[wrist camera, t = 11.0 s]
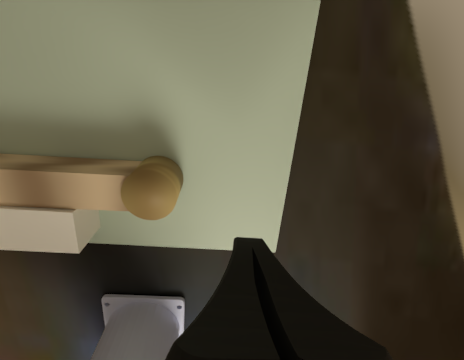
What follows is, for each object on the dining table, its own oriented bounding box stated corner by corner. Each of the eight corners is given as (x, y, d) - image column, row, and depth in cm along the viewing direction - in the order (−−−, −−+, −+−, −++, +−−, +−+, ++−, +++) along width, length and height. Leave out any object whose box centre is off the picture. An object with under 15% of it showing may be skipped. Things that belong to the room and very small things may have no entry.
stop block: (100, 226, 22) (79, 253, 19) (12, 221, 21) (-25, 248, 18) (96, 190, 21) (72, 212, 17) (2, 184, 20) (-40, 206, 17)
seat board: (273, 245, 24) (275, 252, 23) (1, 231, 23) (-8, 238, 22) (315, 4, 17) (320, 0, 16) (-77, -39, 16) (-96, -46, 15)
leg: (183, 157, 20) (176, 172, 17) (183, 200, 21) (176, 221, 18) (-26, 145, 19) (-72, 159, 16) (-12, 191, 20) (-52, 211, 17)
